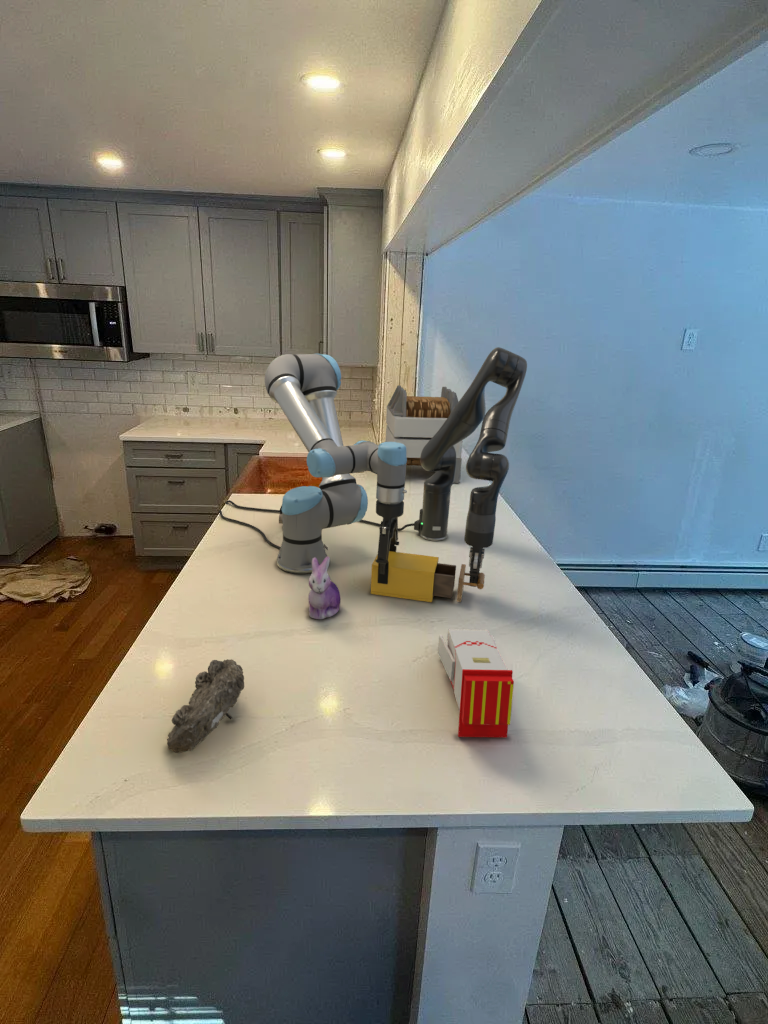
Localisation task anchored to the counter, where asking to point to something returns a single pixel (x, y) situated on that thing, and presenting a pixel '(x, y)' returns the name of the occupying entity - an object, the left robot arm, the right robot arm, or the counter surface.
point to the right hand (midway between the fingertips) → (473, 585)
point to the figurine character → (280, 516)
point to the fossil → (206, 705)
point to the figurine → (322, 591)
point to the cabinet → (406, 577)
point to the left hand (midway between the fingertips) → (386, 574)
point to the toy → (478, 682)
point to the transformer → (419, 423)
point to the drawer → (452, 581)
